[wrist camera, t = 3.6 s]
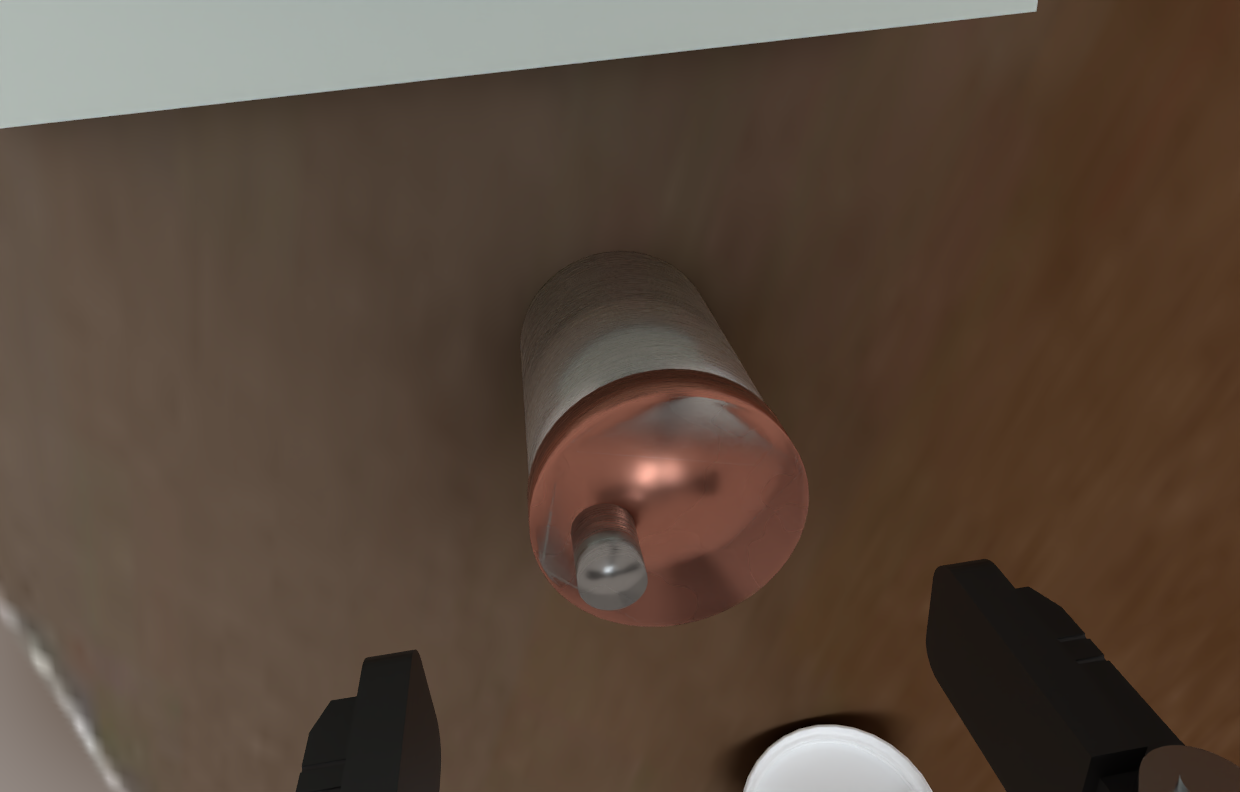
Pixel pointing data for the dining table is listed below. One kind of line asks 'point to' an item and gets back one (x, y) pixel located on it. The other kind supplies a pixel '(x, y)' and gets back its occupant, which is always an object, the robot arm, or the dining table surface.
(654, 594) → the spout can
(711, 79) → the dining table surface
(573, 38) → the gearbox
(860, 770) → the spread jar
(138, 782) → the dining table surface
